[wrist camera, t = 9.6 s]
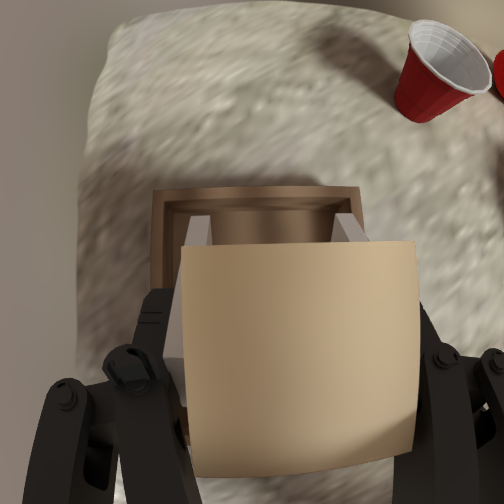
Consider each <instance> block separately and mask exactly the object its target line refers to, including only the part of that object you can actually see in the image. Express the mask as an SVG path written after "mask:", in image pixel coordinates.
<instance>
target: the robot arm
mask: <svg viewBox="0 0 504 504" xmlns="http://www.w3.org/2000/svg"><path fill="white" fill-rule="evenodd" d="M331 242H369V240H368V238H367V237H366V235H365V233H364V232H363V230H362V228H361V226H360V225H359V223H358V222H357V220H356V218H355V217H354V215H353V213H335V219H334V225H333V231H332V238H331ZM206 245H212V233H211V221H210V215H208V216H191V218H190V222H189V226H188V231H187V235H186V239H185V244H184V246H206ZM419 301H420V300H419ZM140 312H141V314H140V315H139V319H138V324H137V326H136V330H135V334H134V338H133V342H132V344H125V345H122V346H119V347H117V348H115V349H114V350H112V351H111V352H110V353H109V354H108V355H107V357H106V358H105V360H104V363H103V367H102V370H103V371H104V373H105V374H106V376H107V378H108V379H109V381H106V382H103V383H98V384H93V385H88V386H84V385H83V384H82V383H81V382H80V381H79V380H76V379H73V378H65V379H62V380H59V381H57V382H56V383H55V384H54V385H53V386H52V387H50V389H49V391H48V393H47V395H46V399H45V402H44V406H43V409H42V413H41V416H40V420H39V423H38V427H37V431H36V435H35V439H34V443H33V447H32V452H31V456H30V461H29V466H28V471H27V476H26V482H25V488H24V494H23V501H22V504H113V502H114V491H115V481H116V471H117V463H118V455H119V457H120V464H121V471H122V478H123V484H124V490H125V496H126V501H127V504H202V500H201V497H200V493H199V490H198V486H197V483H196V479H195V477H194V471H193V468H192V464H191V460H190V456H189V452H188V448H187V443H186V439H185V435H184V430H183V426H182V421H181V418H180V416H179V404H180V402H181V404H182V407H187V398H186V385H185V369H184V351H183V328H182V291H181V262H180V267H179V272H178V277H177V281H176V286H175V288H153V289H152V290H151V291H150V292H149V294H148V295H147V296H146V297H145V299H144V300H143V304H142V308H141V311H140ZM486 402H487V404H488V407H489V409H488V410H486V409H485V408H484V407H483V405H484V404H485V403H486ZM392 504H504V352H502V351H501V350H499V349H496V348H489V349H488V350H486V351H485V352H484V353H483V355H482V356H481V357H480V358H476V357H466V356H460V355H459V353H458V352H457V350H456V349H455V348H454V347H452V346H451V345H449V344H447V343H443V342H441V340H440V338H439V336H438V334H437V332H436V330H435V329H434V327H433V325H432V323H431V321H430V319H429V317H428V315H427V313H426V311H425V310H424V309H423V306H422V304H421V302H420V369H419V388H418V401H417V412H416V422H415V430H414V438H413V445H412V451H410V452H407V453H403V454H400V455H396V456H394V479H393V496H392Z"/></svg>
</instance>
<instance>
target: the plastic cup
mask: <svg viewBox="0 0 504 504" xmlns="http://www.w3.org/2000/svg"><path fill="white" fill-rule="evenodd" d="M408 37H409V40H410V43H409V50H408V56H407V59H406V62H405V65H404V68H403V70H402V73H401V76H400V79H399V84H398V86H397V89H396V92H395V96H394V99H395V104H396V106H397V107H398V109H399V111H400V112H401V113H402V114H403V115H404V116H405V117H406V118H408V119H410V120H411V121H413V122H417V123H426V122H428V121H430V120H432V119H433V118H435V117H436V116H438V115H441V114H442V113H444V112H445V111H447V110H449V109H450V108H452V107H453V106H455V105H456V104H458V103H460V102H461V101H463V100H464V99H468V98H469V97H471V96H474V95H475V94H484V93H486V92H487V91H488V89H489V88H490V87H491V86H492V74H491V71H490V69H489V66H488V64H487V61H486V60H485V59H484V57H483V56H482V54H481V53H480V52H479V50H478V49H477V48H476V47H475V46H474V45H473V44H472V43H471V42H470V41H469V40H468V39H467V38H466V37H465V36H463V35H462V34H460V33H459V32H457V31H456V30H454V29H452V28H451V27H449V26H447V25H444V24H442V23H439V22H436V21H432V20H419V21H416V22H414V23H412V24H411V27H410V29H409V32H408Z"/></svg>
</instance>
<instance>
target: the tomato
mask: <svg viewBox="0 0 504 504" xmlns="http://www.w3.org/2000/svg"><path fill="white" fill-rule="evenodd" d="M493 75H494V79H495V84H496V88H497V90H498V91H499V93H500V94H501V96H502V97H503V99H504V50H501V51H500V52H499V53H498V54H497V55H496V57H495V60H494V64H493Z"/></svg>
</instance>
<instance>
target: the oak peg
mask: <svg viewBox="0 0 504 504" xmlns="http://www.w3.org/2000/svg"><path fill="white" fill-rule="evenodd" d="M181 291H182V328H183V351H184V369H185V385H186V398H187V411H188V422H189V433H190V443H191V452H192V461H193V469H194V477H204V478H250V477H270V476H283V475H294V474H303V473H311V472H318V471H325V470H331V469H337V468H343V467H348V466H353V465H358V464H363V463H368V462H372V461H376V460H380V459H384V458H388V457H392V456H396V455H400V454H403V453H407V452H410V451H412V445H413V438H414V430H415V422H416V412H417V401H418V388H419V369H420V301H419V282H418V268H417V257H416V246H415V241H377V242H326V243H283V244H243V245H206V246H181Z"/></svg>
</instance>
